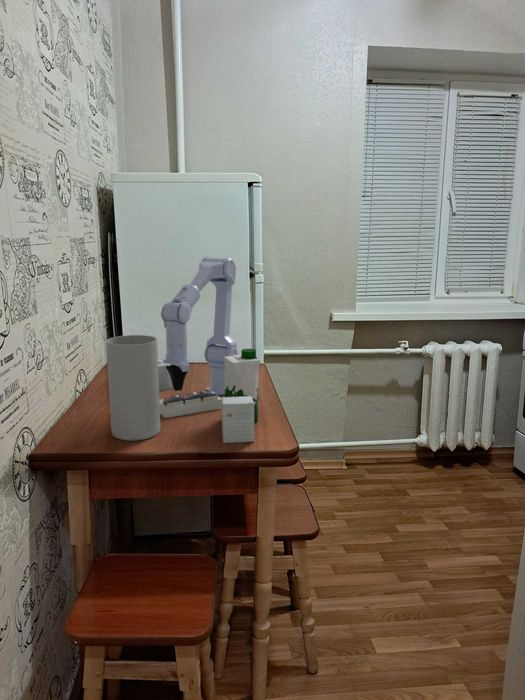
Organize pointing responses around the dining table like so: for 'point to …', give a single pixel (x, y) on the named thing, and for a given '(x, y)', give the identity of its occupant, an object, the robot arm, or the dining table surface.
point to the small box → (237, 419)
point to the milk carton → (242, 376)
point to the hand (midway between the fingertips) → (177, 390)
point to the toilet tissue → (164, 376)
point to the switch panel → (189, 406)
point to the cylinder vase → (133, 386)
